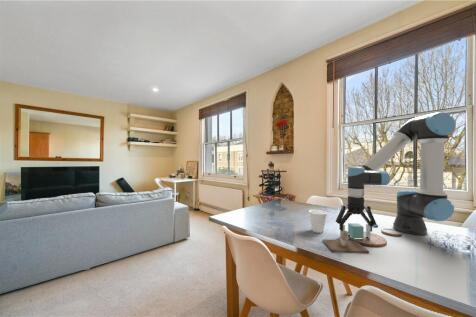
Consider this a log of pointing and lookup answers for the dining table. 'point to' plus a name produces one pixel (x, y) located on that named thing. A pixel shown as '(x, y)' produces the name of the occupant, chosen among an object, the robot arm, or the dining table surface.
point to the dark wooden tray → (345, 244)
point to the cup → (317, 220)
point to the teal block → (355, 230)
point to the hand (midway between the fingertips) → (355, 237)
